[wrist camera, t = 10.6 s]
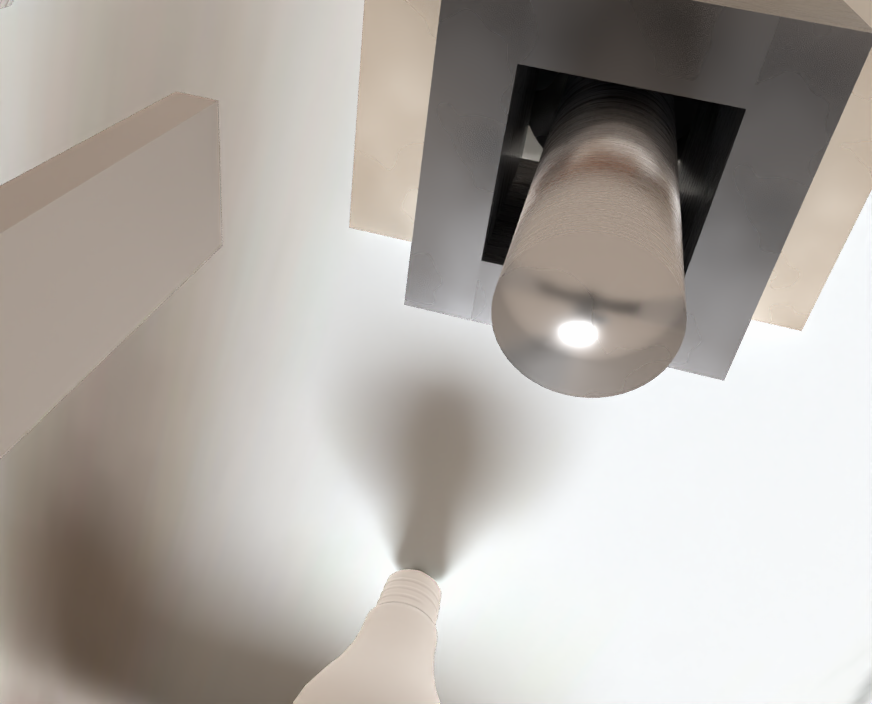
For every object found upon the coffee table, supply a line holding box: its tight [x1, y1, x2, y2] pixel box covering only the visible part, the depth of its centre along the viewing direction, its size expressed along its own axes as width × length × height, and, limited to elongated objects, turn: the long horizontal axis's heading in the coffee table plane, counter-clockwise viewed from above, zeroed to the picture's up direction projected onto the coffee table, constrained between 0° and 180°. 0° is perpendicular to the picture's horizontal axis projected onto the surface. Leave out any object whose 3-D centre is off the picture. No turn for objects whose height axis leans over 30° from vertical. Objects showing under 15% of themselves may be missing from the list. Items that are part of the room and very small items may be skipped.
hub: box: [404, 0, 872, 380], centre depth 17 cm, size 7×7×6 cm
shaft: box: [349, 0, 872, 398], centre depth 16 cm, size 12×14×13 cm
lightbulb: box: [293, 569, 441, 704], centre depth 30 cm, size 6×6×11 cm
